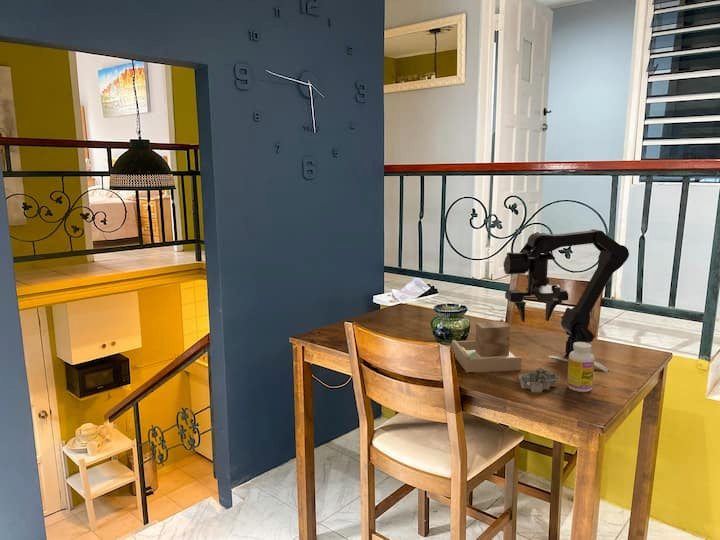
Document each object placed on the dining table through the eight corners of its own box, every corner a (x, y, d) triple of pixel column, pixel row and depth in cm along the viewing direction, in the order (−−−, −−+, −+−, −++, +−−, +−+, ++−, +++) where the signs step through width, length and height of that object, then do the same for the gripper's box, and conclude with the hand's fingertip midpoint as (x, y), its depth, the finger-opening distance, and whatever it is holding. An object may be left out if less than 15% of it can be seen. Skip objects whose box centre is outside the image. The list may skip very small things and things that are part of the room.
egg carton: (536, 395, 150) (537, 381, 149) (515, 386, 156) (515, 372, 155) (561, 386, 155) (562, 372, 155) (540, 378, 162) (540, 364, 161)
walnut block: (502, 349, 179) (503, 321, 177) (508, 355, 173) (509, 326, 171) (475, 350, 178) (476, 322, 176) (481, 357, 172) (481, 328, 170)
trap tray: (500, 350, 186) (500, 337, 185) (521, 370, 168) (521, 355, 167) (451, 352, 184) (451, 339, 183) (467, 372, 166) (467, 358, 165)
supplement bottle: (580, 394, 149) (583, 349, 147) (561, 386, 155) (564, 343, 152) (597, 389, 152) (600, 345, 150) (578, 381, 158) (581, 339, 155)
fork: (549, 362, 181) (548, 354, 181) (612, 372, 165) (612, 363, 165) (544, 365, 179) (544, 356, 179) (608, 374, 164) (608, 365, 163)
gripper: (518, 279, 163) (516, 329, 166) (578, 277, 165) (575, 327, 168) (505, 272, 174) (503, 319, 177) (561, 270, 176) (559, 317, 179)
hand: (535, 321), depth 175 cm, fingers open, 8 cm apart
